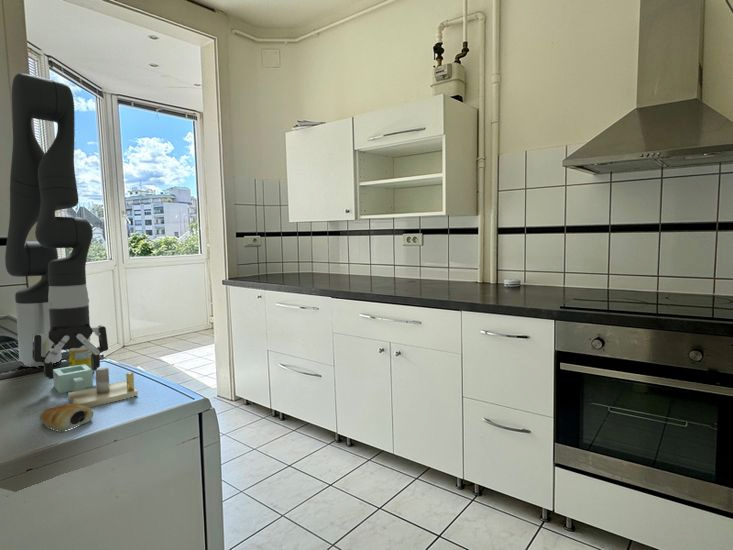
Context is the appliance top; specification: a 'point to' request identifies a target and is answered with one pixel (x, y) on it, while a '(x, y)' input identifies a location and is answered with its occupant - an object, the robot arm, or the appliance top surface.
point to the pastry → (66, 416)
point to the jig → (102, 391)
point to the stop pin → (130, 381)
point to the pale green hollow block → (72, 378)
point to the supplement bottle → (80, 356)
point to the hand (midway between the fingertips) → (73, 374)
